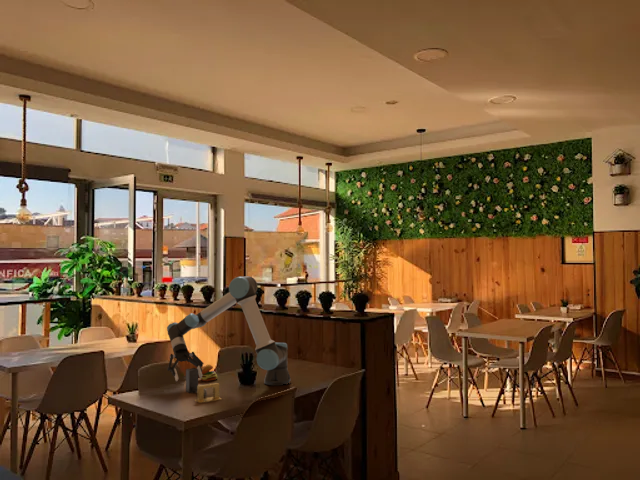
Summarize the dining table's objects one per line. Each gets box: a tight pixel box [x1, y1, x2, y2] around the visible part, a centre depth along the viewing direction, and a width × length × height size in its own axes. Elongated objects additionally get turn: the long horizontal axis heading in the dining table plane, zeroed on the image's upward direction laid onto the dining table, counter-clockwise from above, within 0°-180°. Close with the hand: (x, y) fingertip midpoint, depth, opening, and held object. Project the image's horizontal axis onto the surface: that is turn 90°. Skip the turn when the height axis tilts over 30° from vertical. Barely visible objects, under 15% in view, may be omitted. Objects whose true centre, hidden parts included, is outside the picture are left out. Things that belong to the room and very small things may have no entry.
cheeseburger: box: [198, 364, 219, 382], centre depth 320 cm, size 10×11×10 cm
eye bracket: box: [194, 382, 223, 404], centre depth 273 cm, size 12×6×8 cm, turn 125°
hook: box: [185, 367, 208, 398], centre depth 285 cm, size 5×21×12 cm, turn 35°
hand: (189, 378), depth 293 cm, fingers open, 13 cm apart
